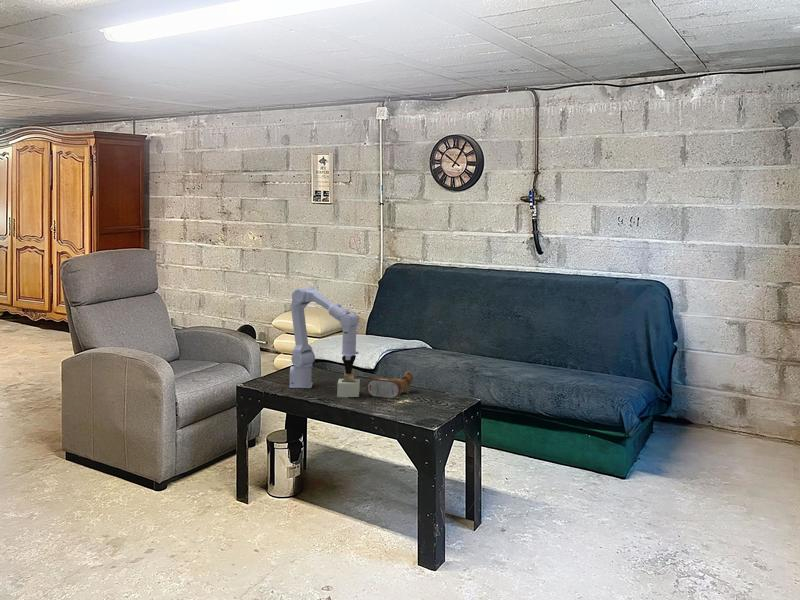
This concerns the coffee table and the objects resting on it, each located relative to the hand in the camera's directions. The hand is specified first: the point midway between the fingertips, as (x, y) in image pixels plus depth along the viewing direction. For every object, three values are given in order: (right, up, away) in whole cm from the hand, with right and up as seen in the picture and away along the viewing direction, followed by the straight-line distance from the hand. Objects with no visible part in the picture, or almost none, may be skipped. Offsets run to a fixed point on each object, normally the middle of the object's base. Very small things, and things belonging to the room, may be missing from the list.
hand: (348, 373), depth 299 cm
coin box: (0, -9, +1) cm, 10 cm away
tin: (+15, -11, -1) cm, 18 cm away
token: (0, -3, 0) cm, 3 cm away
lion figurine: (+22, -10, +7) cm, 25 cm away
